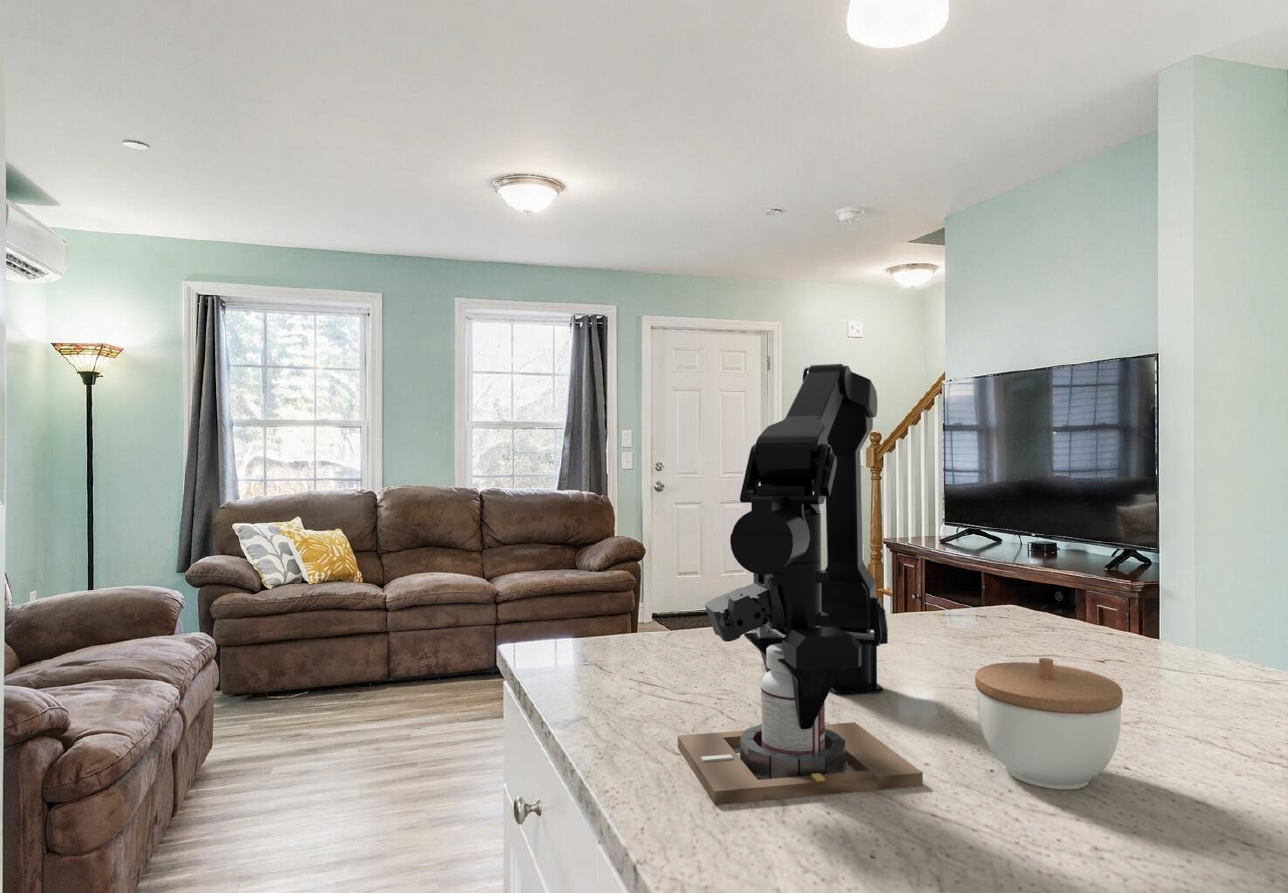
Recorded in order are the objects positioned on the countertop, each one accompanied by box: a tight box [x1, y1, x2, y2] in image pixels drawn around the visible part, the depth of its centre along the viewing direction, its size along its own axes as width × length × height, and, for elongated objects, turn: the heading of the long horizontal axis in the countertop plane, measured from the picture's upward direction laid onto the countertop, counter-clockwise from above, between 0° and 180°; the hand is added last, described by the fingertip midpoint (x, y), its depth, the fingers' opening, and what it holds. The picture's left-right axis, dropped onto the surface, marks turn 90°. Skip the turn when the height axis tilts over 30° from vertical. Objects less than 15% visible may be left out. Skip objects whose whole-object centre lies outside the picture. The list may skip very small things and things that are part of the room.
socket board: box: [677, 721, 924, 806], centre depth 80 cm, size 20×14×2 cm
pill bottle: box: [760, 643, 826, 755], centre depth 80 cm, size 6×6×11 cm
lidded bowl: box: [974, 657, 1124, 791], centre depth 77 cm, size 13×13×11 cm
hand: (792, 717), depth 80 cm, fingers closed on pill bottle, 6 cm apart
